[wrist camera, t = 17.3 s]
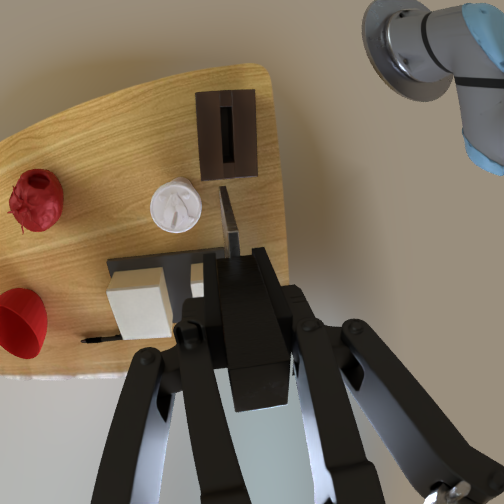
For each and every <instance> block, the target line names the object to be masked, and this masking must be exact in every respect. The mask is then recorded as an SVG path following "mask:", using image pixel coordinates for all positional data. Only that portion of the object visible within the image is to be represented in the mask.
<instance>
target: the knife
mask: <svg viewBox="0 0 504 504" xmlns="http://www.w3.org/2000/svg"><path fill="white" fill-rule="evenodd" d="M219 195H220V206H221V217H222V228H223V238H224V249H225V255H226V258H219V259H216V268H217V279H218V289H219V298H220V308H221V317H222V326H223V335H224V343H225V351H226V360H227V368H228V374H229V380H230V386H231V391H232V397H233V402H234V408H235V412H244V411H252V410H258V409H265V408H271V407H277V406H282V405H287V402H288V390H289V376H290V361H291V360H290V356H289V354H288V351H287V348H286V345H285V342H284V339H283V336H282V333H281V330H280V327H279V324H278V322H277V319H276V316H275V313H274V310H273V307H272V304H271V301H270V298H269V295H268V292H267V290H266V287H265V284H264V281H263V278H262V275H261V272H260V269H259V266H258V263H257V261H256V258H255V255H246V256H240V244H239V231H238V228H237V224H236V221H235V217H234V214H233V210H232V206H231V203H230V199H229V196H228V192H227V189H226V186H219Z"/></svg>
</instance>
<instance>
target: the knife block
mask: <svg viewBox="0 0 504 504" xmlns="http://www.w3.org/2000/svg"><path fill="white" fill-rule="evenodd" d="M195 97H196V115H197V132H198V147H199V160H200V173H201V181H209V180H220V179H233V178H245V177H257V176H258V166H257V133H256V101H255V89H248V90H222V91H207V92H196V93H195Z"/></svg>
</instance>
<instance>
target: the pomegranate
mask: <svg viewBox="0 0 504 504" xmlns="http://www.w3.org/2000/svg"><path fill="white" fill-rule="evenodd" d="M9 206H10V209H11V211H9V212H8V213H13V215H14V217H15V219H16V220H17V221H18V223H20V224H21V225H22V226H21V228H22V231H23V226H24V227H25V228H26V229H28V230H30V231H33V232H42V231H45V230H47V229H49V228H50V227H51V226H52V225H54V224H55V223H56V222H57V221H58V219H59V218H60V216H61V214H62V210H63V189H62V186H61V184H60V182H59V180H58V179H57V177H56V176H55V175H54V174H53V173H52V172H50V171H49V170H44V169H32V170H28V171H26V172H24V173H23V174H22V175H21V176H20V179H19V180H18V181H17V184H16V186H15V187H14V186H13V192H12V194H11V196H10V199H9ZM23 233H24V231H23ZM22 235H23V234H22Z"/></svg>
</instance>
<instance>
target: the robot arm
mask: <svg viewBox="0 0 504 504" xmlns="http://www.w3.org/2000/svg"><path fill="white" fill-rule="evenodd" d="M384 42H385V46H386V49H387V52H388V54H389V56H390V58H391V60H392V61H393V63H394V64H395V66H396V67H397V68H398V69H399V70H400V71H401V72H402V73H403V74H404V75H405V76H406V77H408V78H409V79H411V80H413V81H416V82H420V83H432V82H436V81H438V80H440V79H442V78H444V77H446V76H448V75H450V74H454V78H455V83H456V88H457V93H458V99H459V104H460V110H461V118H462V124H463V128H462V134H463V137H464V141H465V148H466V152H467V154H468V156H469V158H470V159H471V161H473V162H474V163H475V164H476V165H477V166H479V167H481V168H482V169H484V170H486V171H488V172H490V173H493V174H496V175H500V176H503V175H504V13H503V12H501V11H500V10H499V9H498V8H496V7H495V6H493V5H490V4H486V3H476V4H472V3H466V4H464V5H460V6H456V7H450V8H446V9H441V10H437V11H433V12H426V11H420V10H415V8H414V9H401V10H400V11H397V12H395V13H393V14H391V15H390V16H389V17H388V19H387V20H386V23H385V26H384ZM252 255H255V258H256V261H257V263H258V266H259V269H260V272H261V275H262V278H263V281H264V284H265V287H266V290H267V292H268V295H269V298H270V301H271V304H272V307H273V310H274V313H275V316H276V319H277V322H278V324H279V327H280V330H281V333H282V336H283V339H284V342H285V345H286V348H287V351H288V354H289V356H290V358H291V352H292V355H293V358H294V360H293V374H292V375H295V378H296V384H297V389H298V395H299V400H300V406H301V411H302V417H303V423H304V427H305V434H306V439H307V445H308V451H309V457H310V463H311V469H312V475H313V481H314V487H315V504H385V500H384V496H383V492H382V489H381V485H380V481H379V478H378V474H377V471H376V469H375V466H374V464H373V463H372V462H370V461H368V460H367V458H366V456H365V452H364V448H363V445H362V441H361V438H360V434H359V431H358V428H357V424H356V421H355V418H354V415H353V411H352V408H351V404H350V401H349V398H348V395H347V392H346V388H345V385H346V386H347V388H348V389H349V391H350V393H351V394H352V396H353V397H354V398H355V400H356V402H357V403H358V405H359V406H360V408H361V409H362V410H363V412H364V414H365V415H366V417H367V418H368V420H369V421H370V423H371V424H372V426H373V427H374V429H375V430H376V432H377V433H378V435H379V437H380V438H381V440H382V441H383V442H384V444H385V446H386V447H387V448H388V450H389V452H390V453H391V455H392V456H393V458H394V459H395V461H396V462H397V464H398V465H399V467H400V468H401V470H402V472H403V473H404V475H405V476H406V478H407V479H408V480H409V482H410V483H411V485H412V486H413V487H414V488H415V490H416V491H417V492H418V493H419V494H420V495H421V496H422V497H424V498H425V499H426V500H425V503H424V504H486V503H487V502H488V501H489V500H491V499H493V498H495V497H496V496H498V495H499V494H501V493H502V492H504V466H503V465H501V464H499V463H497V462H496V461H494V460H493V459H491V458H489V457H488V456H486V455H484V454H482V453H481V452H479V451H478V450H476V449H474V448H473V447H471V446H470V445H469V444H468V443H467V441H466V440H465V439H464V438H463V436H462V435H461V434H460V433H459V431H458V430H457V429H456V428H455V426H454V425H453V424H452V422H450V420H449V419H448V418H447V416H446V415H445V414H444V413H443V412H442V410H441V409H440V408H439V406H438V405H437V404H436V403H435V402H434V400H433V399H432V398H431V397H430V396H429V394H428V393H427V392H426V391H425V390H424V388H423V387H422V386H421V385H420V384H419V382H418V381H417V380H416V379H415V378H414V376H413V375H412V374H411V373H410V372H409V371H408V370H407V368H406V367H405V366H404V365H403V364H402V362H401V361H400V360H399V359H398V358H397V357H396V355H395V354H394V353H393V352H392V351H391V350H390V349H389V347H388V346H387V345H386V344H385V343H384V342H383V341H382V340H381V338H379V336H378V335H377V334H376V333H375V332H374V330H373V329H372V328H371V327H370V326H369V325H368V324H367V323H366V322H365V321H363V320H360V319H349V320H347V321H345V322H344V323H343V325H342V327H332V326H327V325H324V323H323V322H322V321H321V320H319V319H318V318H315V316H314V314H313V312H312V310H311V308H310V306H309V304H308V302H307V300H306V298H305V296H304V294H303V292H302V290H301V289H300V288H299V287H297V286H296V285H295V284H294V285H287V286H280V283H279V281H278V279H277V276H276V274H275V271H274V269H273V267H272V264H271V262H270V260H269V257H268V255H267V253H266V250H265V248H264V247H260V248H252ZM203 288H204V297H194V298H186V300H185V301H184V303H183V304H182V318H181V321H180V322H178V323H177V324H176V325H175V326H174V329H173V332H174V336H175V339H176V343H177V344H176V345H175V346H174V347H172V348H171V349H168V350H165V351H162V352H160V351H159V350H158V349H156V348H152V347H147V348H143V349H140V350H139V351H138V352H136V353H135V355H134V357H133V359H132V362H131V365H130V367H129V370H128V373H127V376H126V379H125V382H124V385H123V388H122V391H121V394H120V397H119V400H118V404H117V407H116V410H115V413H114V416H113V420H112V423H111V426H110V430H109V433H108V437H107V440H106V444H105V447H104V451H103V455H102V458H101V462H100V466H99V470H98V474H97V478H96V483H95V486H94V491H93V495H92V500H91V504H158V503H159V496H160V488H161V481H162V474H163V466H164V460H165V453H166V447H167V440H168V434H169V428H170V422H171V417H172V411H173V405H174V399H175V393H177V392H180V391H183V397H184V404H185V410H186V416H187V423H188V429H189V435H190V440H191V446H192V451H193V456H194V461H195V466H196V471H197V476H198V481H199V485H200V490H201V496H200V499H201V504H252V503H251V500H250V497H249V494H248V491H247V488H246V486H245V482H244V479H243V476H242V473H241V470H240V466H239V463H238V460H237V456H236V453H235V449H234V446H233V442H232V439H231V435H230V432H229V428H228V425H227V421H226V417H225V413H224V409H223V406H222V402H221V398H220V394H219V390H218V386H217V382H216V378H215V374H214V369H220V368H227V360H226V351H225V343H224V335H223V326H222V317H221V308H220V298H219V289H218V279H217V268H216V253H207V254H203ZM344 383H345V385H344Z"/></svg>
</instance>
